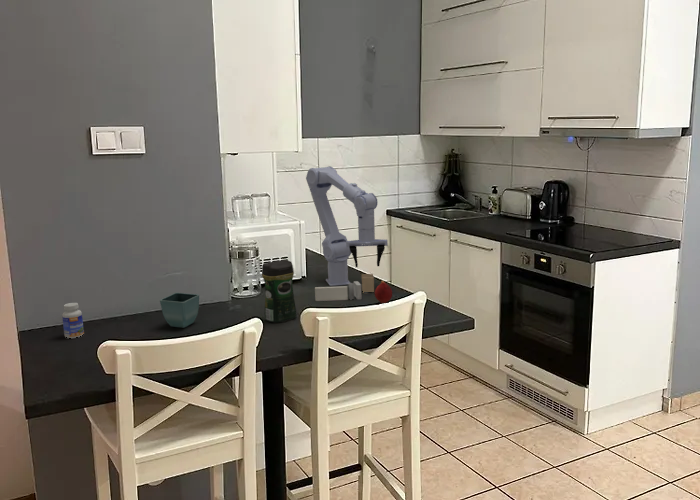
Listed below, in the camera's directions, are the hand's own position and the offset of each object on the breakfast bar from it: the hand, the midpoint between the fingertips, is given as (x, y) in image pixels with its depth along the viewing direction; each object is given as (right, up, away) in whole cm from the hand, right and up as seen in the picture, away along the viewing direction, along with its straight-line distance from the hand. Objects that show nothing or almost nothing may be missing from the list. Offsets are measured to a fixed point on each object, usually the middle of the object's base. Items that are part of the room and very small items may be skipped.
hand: (367, 266), depth 233 cm
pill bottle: (-88, -20, -38) cm, 98 cm away
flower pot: (-58, -18, -31) cm, 68 cm away
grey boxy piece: (-5, -11, -6) cm, 13 cm away
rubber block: (0, -9, +2) cm, 9 cm away
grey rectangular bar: (-12, -11, -8) cm, 19 cm away
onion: (+5, -12, -15) cm, 20 cm away
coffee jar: (-28, -16, -28) cm, 43 cm away
